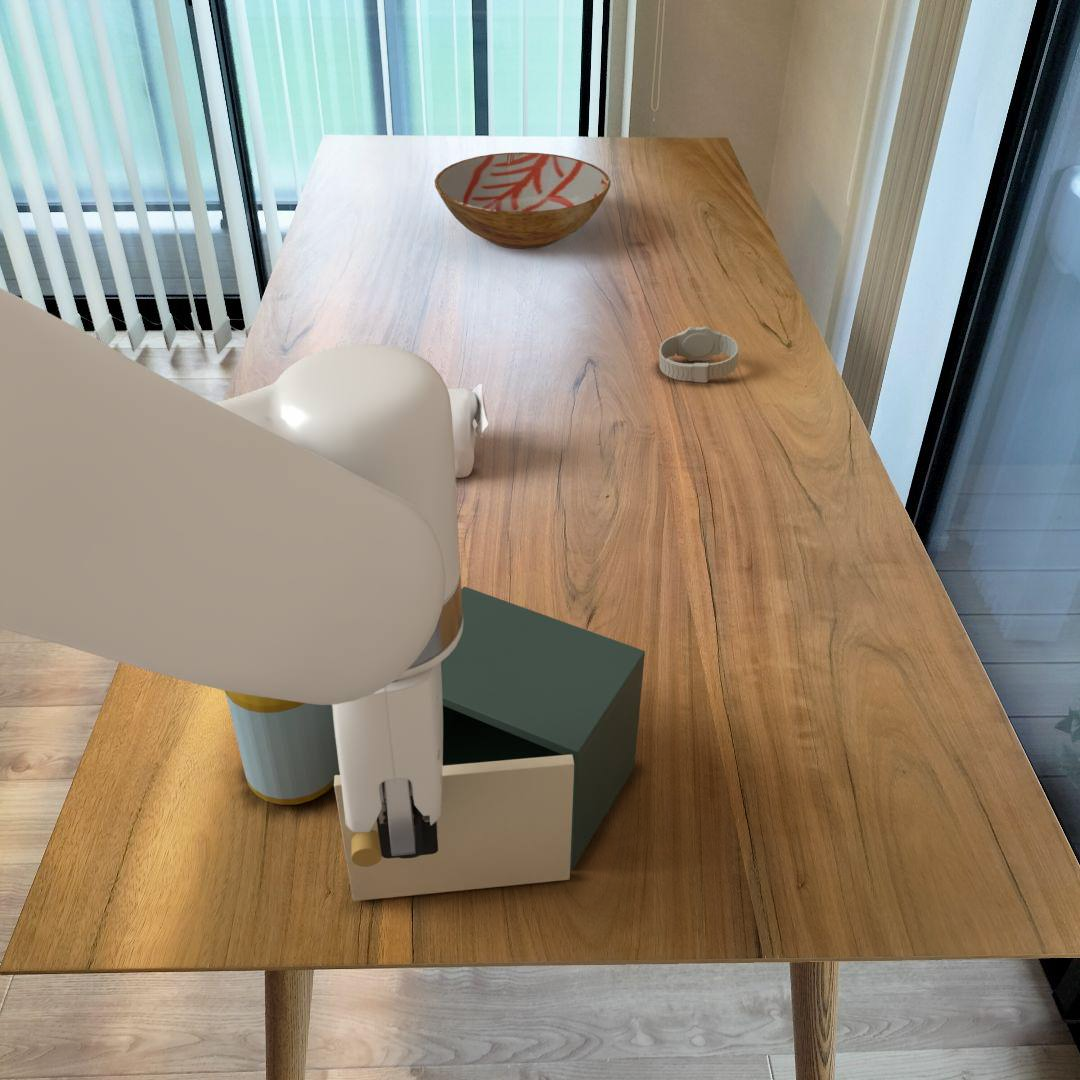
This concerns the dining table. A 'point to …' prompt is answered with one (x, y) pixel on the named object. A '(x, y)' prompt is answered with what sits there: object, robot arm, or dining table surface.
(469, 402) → the elephant figurine
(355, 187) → the dining table surface
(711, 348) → the wristwatch
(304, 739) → the bottle
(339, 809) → the door
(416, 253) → the dining table surface
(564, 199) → the bowl
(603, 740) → the cupboard
